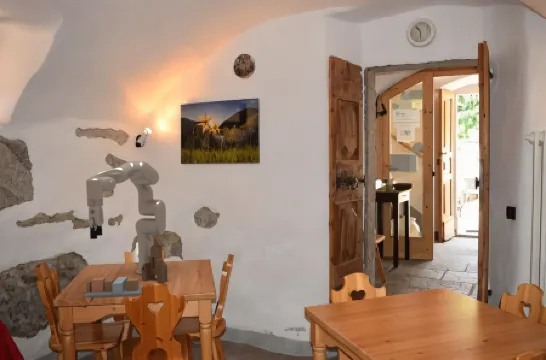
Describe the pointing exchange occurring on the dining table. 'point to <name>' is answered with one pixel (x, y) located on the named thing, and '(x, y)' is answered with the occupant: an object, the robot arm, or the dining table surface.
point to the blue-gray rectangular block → (119, 285)
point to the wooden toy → (155, 263)
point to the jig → (131, 289)
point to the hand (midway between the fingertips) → (96, 237)
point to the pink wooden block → (98, 284)
